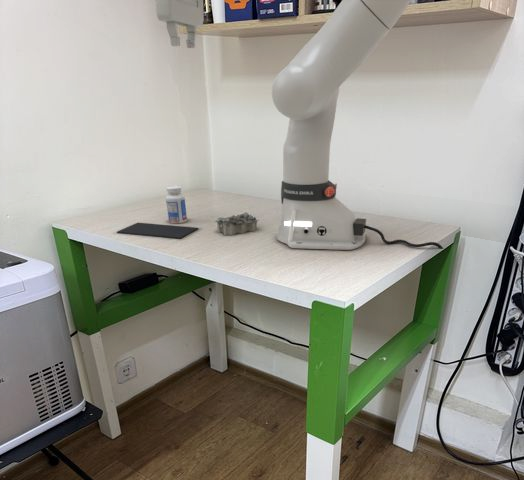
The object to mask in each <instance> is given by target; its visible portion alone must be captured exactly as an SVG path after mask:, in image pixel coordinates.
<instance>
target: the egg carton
mask: <svg viewBox="0 0 524 480" xmlns="http://www.w3.org/2000/svg"><path fill="white" fill-rule="evenodd" d="M258 221H260V219H257V218H256V216H254V215H252V214H249V213H248V212H247V211H246V212H244V213H240V214H237V215H234V214H233V215H232V216H231V215H230V216H227V217H217V219H216V220H215V221H214V222H215V223H216V229H217V232H218V233H223V235H224V236H234V235H235V234H244V233H246V232H248V231H250V232H256V230H257V229H258V227H257V226H258Z"/></svg>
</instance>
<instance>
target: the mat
mask: <svg viewBox="0 0 524 480" xmlns="http://www.w3.org/2000/svg"><path fill="white" fill-rule="evenodd" d="M198 230H199V227H196V226H195V227H193V226H182V225H171V224H161V223H160V224H158V223H147V222H136V223H134V224H132V225H130V226H126V227H124V228H122V229H119V230H117V231H116V233H117V234H122V235H123V234H125V235H135V236H145V237H157V238H166V239H177V240H181V239H183V238H185V237H186V236H188V235H190V234H193V233H194V232H195V231H198Z"/></svg>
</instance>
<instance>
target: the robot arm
mask: <svg viewBox="0 0 524 480" xmlns="http://www.w3.org/2000/svg"><path fill="white" fill-rule="evenodd" d="M411 2H412V0H341V2H340V3H339V4H338V5H337V7H336V8H335V10H334V11H333V12H332V14H331V15H330V16H329V18H328V19H327V20H326V21H325V23H324V24H323V25H322V27H320V28H319V30H318V31H317V32H316V33H315V34H314V35H313V37H312V38H310V39H309V40H308V42H307V43H306V44H305V45H304V46H303V47H302V48H301V49H300V50H299V51H298V52H297V54H295V56H294V57H293V58H292V59H291V60H290V62H289V63H288V64H286V66H285V67H283V69H282V70H280V72H278V74H277V75H276V76H275V78H274V80H273V83H272V87H271V98H272V101H273V104H274V107H275V108H276V110H277V111H278V112H279V113H280V114H282V115H283V116H284V117H286V118H289V121H288V126H287V133H286V138H285V140H284V143H283V147H282V157H283V158H282V160H283V161H282V177H283V178H282V179H283V180H282V181H281V187H280V200H281V204H282V205H281V206H282V207H281V215H280V223H279V227H278V231H277V235H276V239H277V240H278V241H279V242H281V243H283V244H285V245H287V246H288V247H289V248H290V249H309V250H337V251H338V250H340V251H352V250H355V249H356V250H357V249H358V248H360V247H362V246H363V244H364V243H365V242H366V234H365V232H366V230H369V231H372V232H375V233H377V234H378V235H379V236H380V239H381V240H382V242H383V243H384V244H385V245H394V244H399V243H400V244H401V243H402V244H405V245H406V246H408V247H411V248H422V247H429V246H435V247H437V248H438V249H441V250H443V249H444V247H443V246H442V245H441V244H440V243H438V242H434V241H429V242H422V243H411V242H409V241H407V240H404V239H395V240H387V239H386V238H385V236H384V234H383V232H382V231H381V230H379V229H377V228H375V227H372V226H369V225H367V218H362V217H361V218H360V217H359V218H358V217H356V215H355V212H353V210H351V209H350V208H349V207H347V206H346V205H345V204H344V203H343V202H341V201H340V200H339V198H337V197H336V196H337V189H338V183H333V182H332V181H331V180H329V178H330V177H329V176H330V175H329V174H330V156H331V155H330V154H331V152H330V151H331V142H332V136H333V131H334V125H335V120H336V119H335V118H336V111H337V102H338V98H339V94H340V87H341V86H342V85H343V83H345V81H347V80H348V79H349V78H350V76H352V74H353V73H354V72H356V70H357V69H359V68H360V67H361V66H362V65H363V64H364V63H365V61H366V60H367V59H368V58H369V56H371V54H372V53H373V52H374V50H376V48H377V47H378V45H379V44H380V43H382V41H383V39H384V38H385V37H386V36H387V34H388V33H389V32H390V31H391V30H392V28H393V27H394V26H395V24H396V23H397V22H398V20H400V18H401V17H402V15H403V14H404V12H405V11H406V9H407V8H408V7H409V5H410V3H411ZM155 13H156V16H157V20H158V21H159V22H164V23H165V24H166V25H165V26H166V30H167V32H168V35H169V39H170V45H171V46H172V47H180V46H181V37H180V36H179V33H178V26H181V27H186V28H185V29H186V33H187V35H186V40H185V42H186V48H187V49H195V48H196V38H197V37H196V36H197V28H202V27H203V24H204V18H205V17H204V0H155Z"/></svg>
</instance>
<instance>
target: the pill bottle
mask: <svg viewBox="0 0 524 480" xmlns="http://www.w3.org/2000/svg"><path fill="white" fill-rule="evenodd" d="M166 192H167V195H166V197H165V203H166V211H167V218H168V222H169V223H170V224H183V223H186V222H187V220H188V215H187V207H186V198H185V195H184V194H182V187H181V186H180V185H174V186H173V185H172V186H167V187H166Z"/></svg>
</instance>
